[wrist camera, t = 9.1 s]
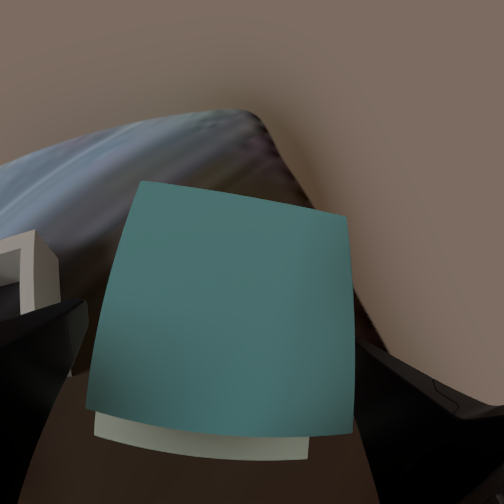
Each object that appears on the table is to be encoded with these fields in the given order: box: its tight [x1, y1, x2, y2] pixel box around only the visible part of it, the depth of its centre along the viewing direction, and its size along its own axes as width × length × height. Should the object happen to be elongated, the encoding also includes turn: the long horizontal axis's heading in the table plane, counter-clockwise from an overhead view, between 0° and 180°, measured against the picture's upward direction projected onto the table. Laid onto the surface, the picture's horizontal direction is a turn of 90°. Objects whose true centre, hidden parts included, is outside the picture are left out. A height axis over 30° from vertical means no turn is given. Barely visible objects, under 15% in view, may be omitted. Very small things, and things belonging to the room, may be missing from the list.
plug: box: [86, 181, 355, 437], centre depth 10 cm, size 5×5×12 cm
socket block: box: [94, 412, 309, 460], centre depth 14 cm, size 10×10×4 cm
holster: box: [0, 230, 72, 377], centre depth 12 cm, size 8×8×4 cm
